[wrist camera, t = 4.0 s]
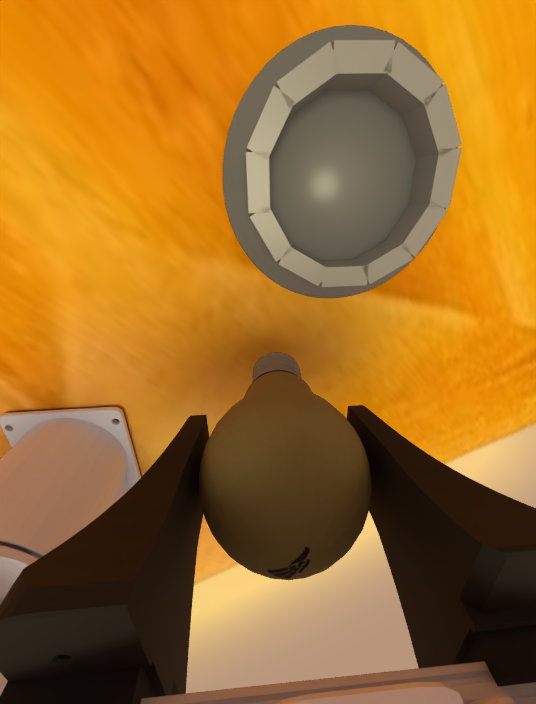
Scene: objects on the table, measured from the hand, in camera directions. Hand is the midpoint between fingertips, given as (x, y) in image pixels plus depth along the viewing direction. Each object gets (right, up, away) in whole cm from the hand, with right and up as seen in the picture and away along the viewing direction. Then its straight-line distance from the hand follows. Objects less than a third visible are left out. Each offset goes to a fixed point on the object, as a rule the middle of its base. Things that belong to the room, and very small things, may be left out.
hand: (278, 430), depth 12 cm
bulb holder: (+3, +12, +4) cm, 13 cm away
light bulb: (0, +2, +4) cm, 5 cm away
